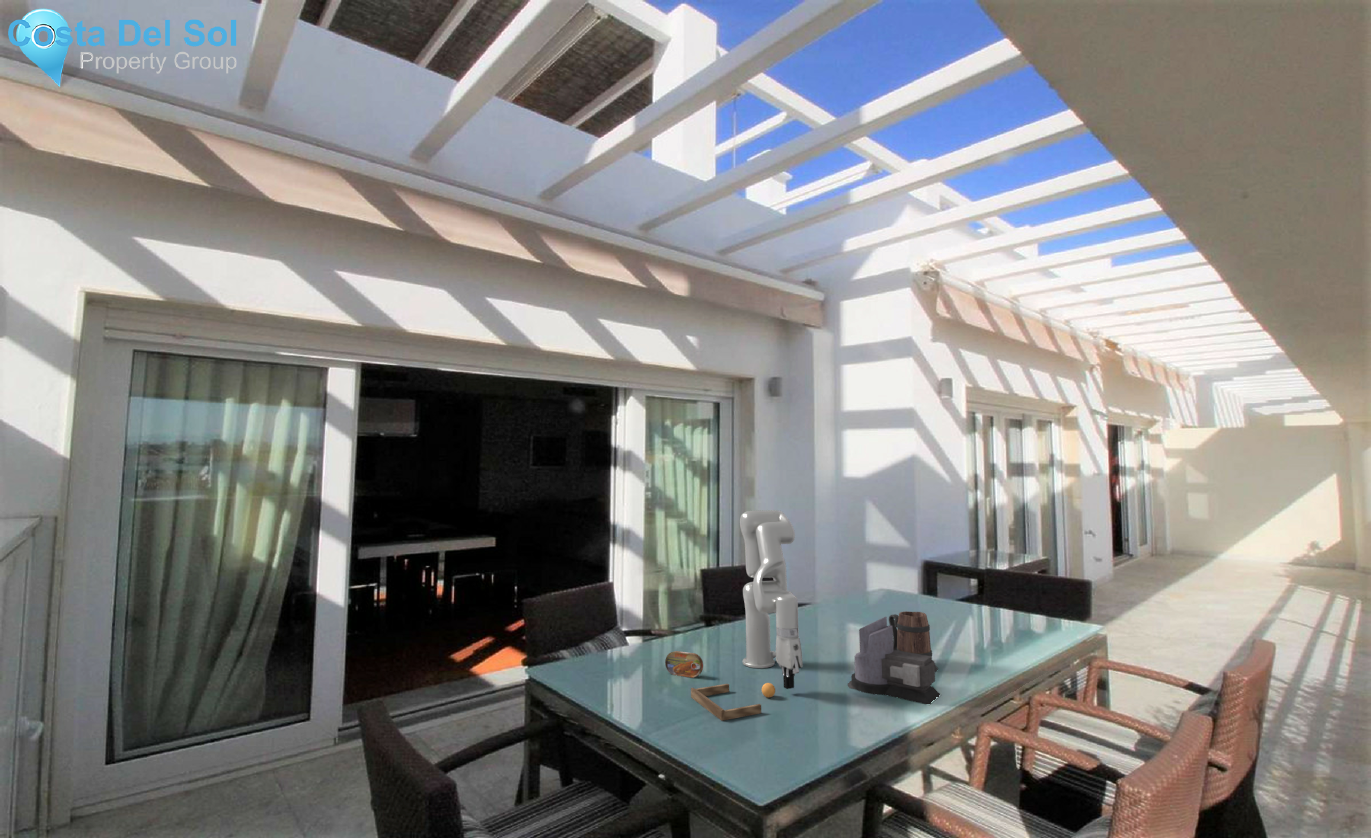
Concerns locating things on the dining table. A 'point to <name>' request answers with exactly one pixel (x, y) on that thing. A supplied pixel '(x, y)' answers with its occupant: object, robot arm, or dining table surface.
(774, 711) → the dining table surface
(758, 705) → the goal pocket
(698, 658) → the tin
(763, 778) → the dining table surface
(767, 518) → the robot arm
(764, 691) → the ball
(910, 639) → the tankard
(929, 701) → the juicer
